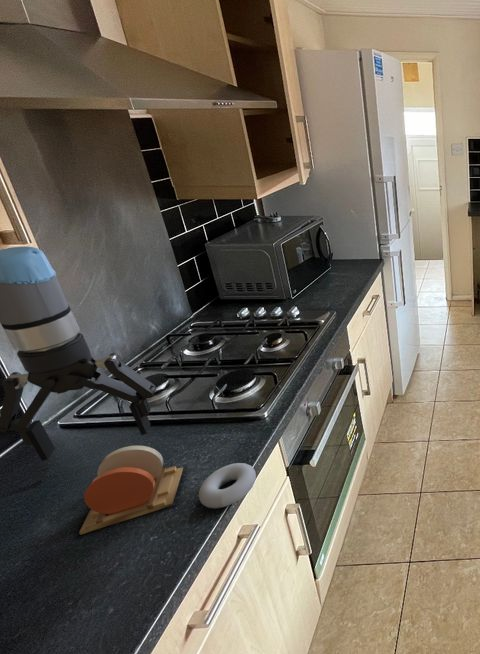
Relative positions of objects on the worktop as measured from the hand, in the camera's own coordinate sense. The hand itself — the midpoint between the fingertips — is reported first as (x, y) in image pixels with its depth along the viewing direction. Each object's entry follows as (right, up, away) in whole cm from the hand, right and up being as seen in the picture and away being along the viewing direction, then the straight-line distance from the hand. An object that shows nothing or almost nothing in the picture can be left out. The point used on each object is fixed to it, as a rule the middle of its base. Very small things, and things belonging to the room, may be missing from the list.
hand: (99, 441), depth 75 cm
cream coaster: (-3, -14, +11) cm, 18 cm away
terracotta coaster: (0, -16, +6) cm, 17 cm away
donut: (+16, -15, +11) cm, 25 cm away
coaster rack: (-2, -15, +9) cm, 18 cm away
